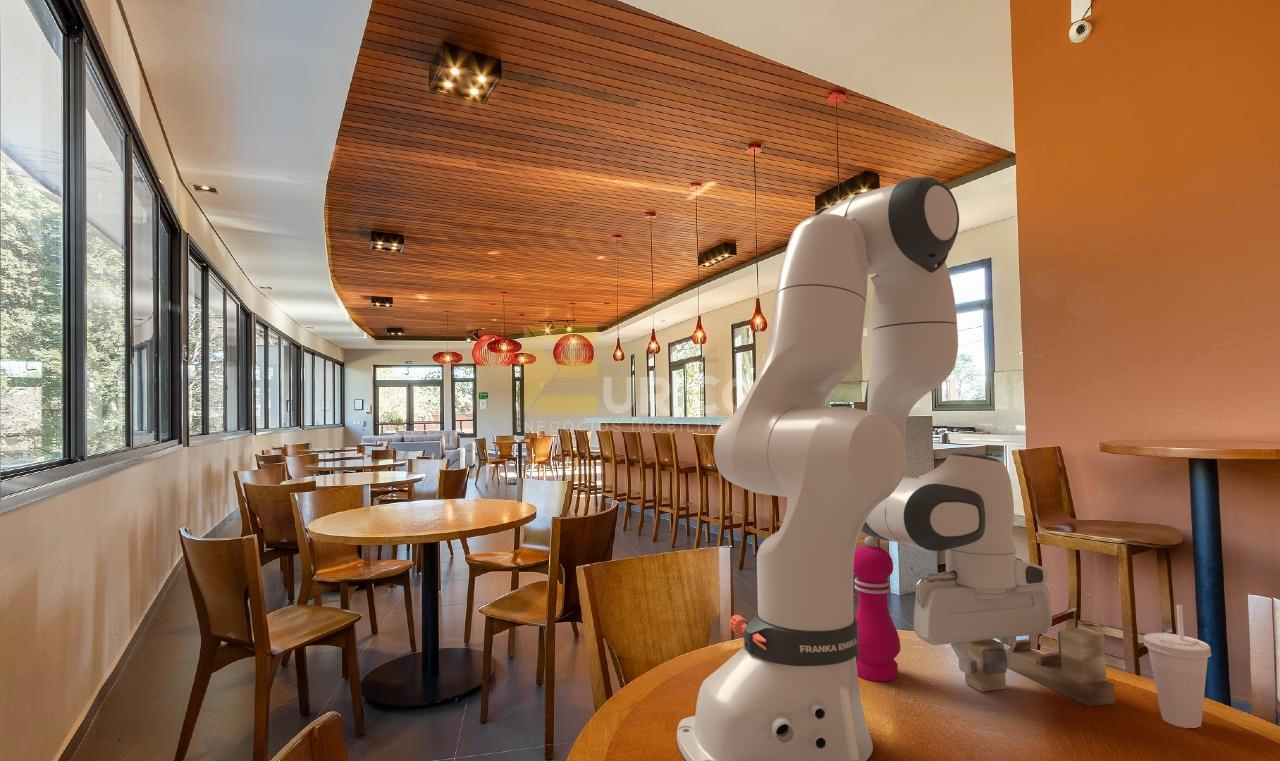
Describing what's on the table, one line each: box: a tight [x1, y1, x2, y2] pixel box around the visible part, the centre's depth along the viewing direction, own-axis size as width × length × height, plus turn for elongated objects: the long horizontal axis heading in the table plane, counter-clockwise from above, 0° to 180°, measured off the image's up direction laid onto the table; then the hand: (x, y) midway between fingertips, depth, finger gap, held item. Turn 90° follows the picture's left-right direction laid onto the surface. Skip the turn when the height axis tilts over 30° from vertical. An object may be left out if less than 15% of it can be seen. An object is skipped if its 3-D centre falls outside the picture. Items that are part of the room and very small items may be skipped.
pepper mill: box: [853, 535, 902, 682], centre depth 95 cm, size 7×7×20 cm
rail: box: [1009, 626, 1116, 708], centre depth 90 cm, size 4×14×8 cm, turn 14°
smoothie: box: [1143, 604, 1212, 729], centre depth 79 cm, size 6×6×14 cm
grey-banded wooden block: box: [964, 639, 1008, 693], centre depth 89 cm, size 4×4×6 cm
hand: (984, 669), depth 89 cm, fingers closed on grey-banded wooden block, 4 cm apart
